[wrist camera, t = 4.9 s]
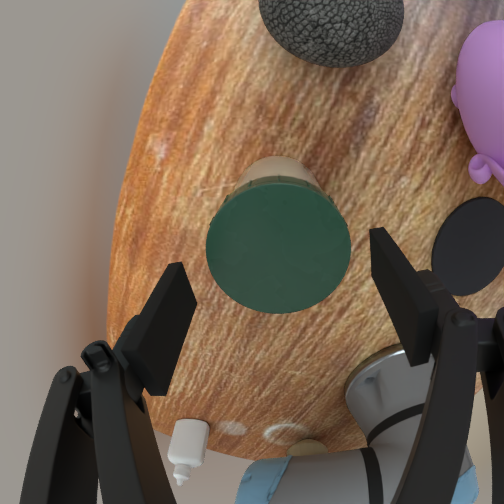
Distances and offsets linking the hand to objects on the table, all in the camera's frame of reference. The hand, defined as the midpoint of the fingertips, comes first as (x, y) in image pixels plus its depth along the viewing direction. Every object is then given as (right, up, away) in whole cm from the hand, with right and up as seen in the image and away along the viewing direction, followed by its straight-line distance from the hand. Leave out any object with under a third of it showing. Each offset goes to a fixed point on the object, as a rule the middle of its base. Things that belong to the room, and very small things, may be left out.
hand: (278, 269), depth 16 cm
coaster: (+23, +1, +12) cm, 26 cm away
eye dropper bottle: (-11, -27, +30) cm, 42 cm away
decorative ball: (+4, +20, +4) cm, 21 cm away
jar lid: (0, +1, +2) cm, 2 cm away
